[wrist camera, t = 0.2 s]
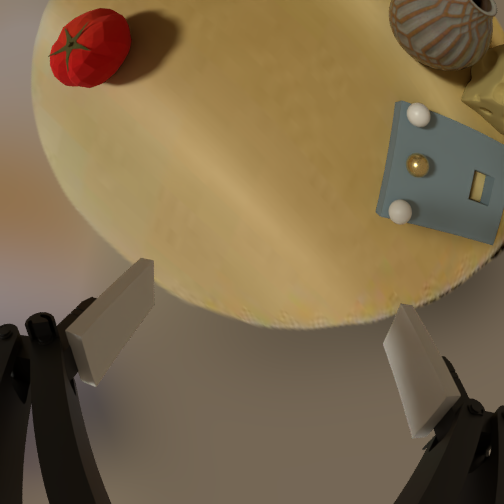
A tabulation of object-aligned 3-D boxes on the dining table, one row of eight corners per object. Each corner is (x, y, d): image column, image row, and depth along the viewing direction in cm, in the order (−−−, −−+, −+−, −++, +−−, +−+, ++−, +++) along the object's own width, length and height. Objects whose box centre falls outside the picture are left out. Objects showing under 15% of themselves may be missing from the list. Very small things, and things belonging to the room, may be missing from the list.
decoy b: (388, 194, 35) (396, 200, 32) (409, 200, 35) (418, 205, 32) (383, 217, 36) (390, 224, 33) (403, 222, 36) (411, 229, 33)
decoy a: (404, 100, 30) (414, 98, 27) (425, 108, 30) (435, 106, 27) (401, 123, 31) (411, 122, 28) (422, 130, 31) (433, 130, 28)
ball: (404, 149, 32) (414, 150, 29) (424, 155, 32) (435, 157, 29) (400, 172, 33) (409, 175, 31) (420, 178, 33) (430, 182, 30)
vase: (434, 1, 24) (489, -42, 8) (466, 74, 28) (540, 59, 12) (363, 3, 27) (399, -59, 11) (398, 82, 31) (463, 54, 15)
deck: (395, 102, 32) (401, 100, 30) (505, 149, 31) (514, 151, 28) (375, 211, 38) (380, 216, 36) (485, 240, 37) (492, 245, 35)
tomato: (85, 103, 37) (40, 102, 27) (73, 47, 33) (32, 37, 23) (152, 65, 34) (114, 49, 24) (136, 6, 30) (101, -16, 20)
